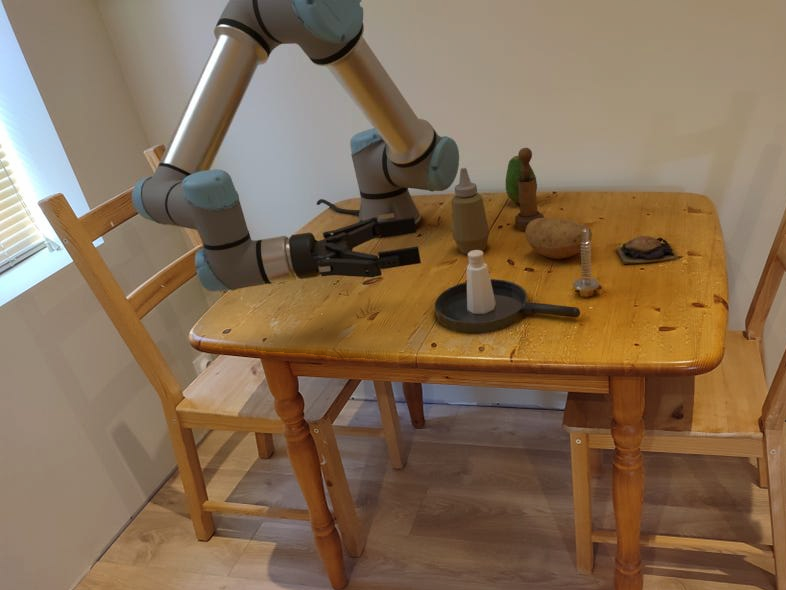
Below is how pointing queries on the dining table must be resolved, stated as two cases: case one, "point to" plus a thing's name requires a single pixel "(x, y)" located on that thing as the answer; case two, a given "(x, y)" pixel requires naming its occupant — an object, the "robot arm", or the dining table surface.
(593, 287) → the screw
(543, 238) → the potato
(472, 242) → the squeeze bottle
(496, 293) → the pan
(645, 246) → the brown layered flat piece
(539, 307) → the pan handle
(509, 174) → the avocado
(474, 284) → the salt shaker
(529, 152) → the mortar and pestle
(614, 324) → the dining table surface
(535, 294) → the dining table surface
